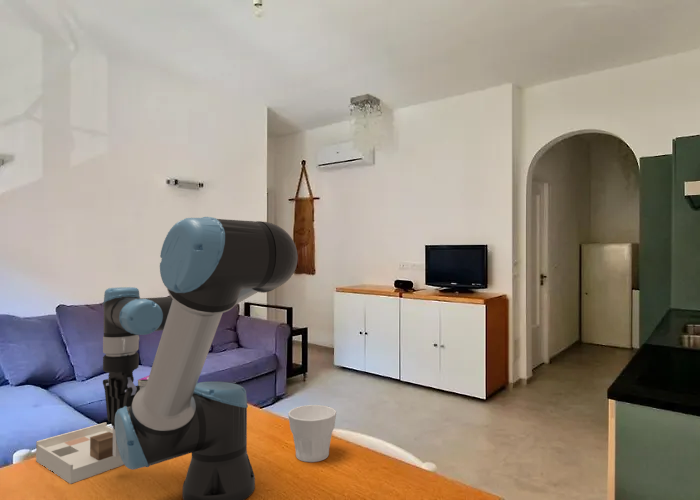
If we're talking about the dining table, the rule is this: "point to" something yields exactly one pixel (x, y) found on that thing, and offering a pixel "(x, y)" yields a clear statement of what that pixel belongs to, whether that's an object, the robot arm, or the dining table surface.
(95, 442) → the block
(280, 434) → the dining table surface
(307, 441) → the cup
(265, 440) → the dining table surface
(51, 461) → the tray
